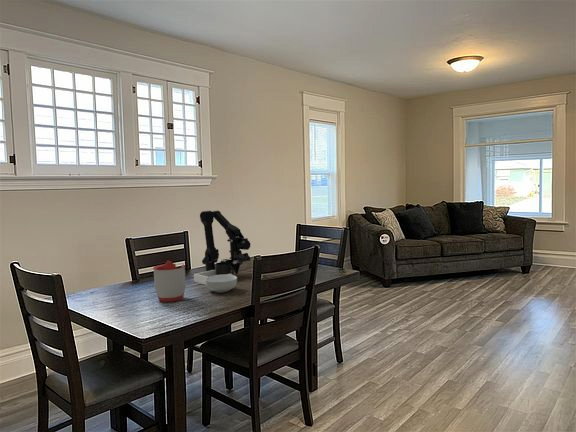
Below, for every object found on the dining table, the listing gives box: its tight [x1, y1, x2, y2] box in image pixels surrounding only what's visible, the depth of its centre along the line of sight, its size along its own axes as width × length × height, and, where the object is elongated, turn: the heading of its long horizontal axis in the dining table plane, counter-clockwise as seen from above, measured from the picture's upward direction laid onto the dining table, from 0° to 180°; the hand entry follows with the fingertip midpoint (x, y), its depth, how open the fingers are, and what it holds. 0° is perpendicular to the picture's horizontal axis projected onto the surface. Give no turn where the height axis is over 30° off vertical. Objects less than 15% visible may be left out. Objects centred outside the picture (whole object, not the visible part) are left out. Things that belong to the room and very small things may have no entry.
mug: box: [215, 261, 235, 275], centre depth 270 cm, size 9×12×9 cm
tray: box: [193, 270, 233, 286], centre depth 264 cm, size 18×14×4 cm
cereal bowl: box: [205, 274, 238, 294], centre depth 242 cm, size 17×17×7 cm
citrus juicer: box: [152, 260, 186, 303], centre depth 228 cm, size 16×17×20 cm
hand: (236, 274), depth 276 cm, fingers closed
